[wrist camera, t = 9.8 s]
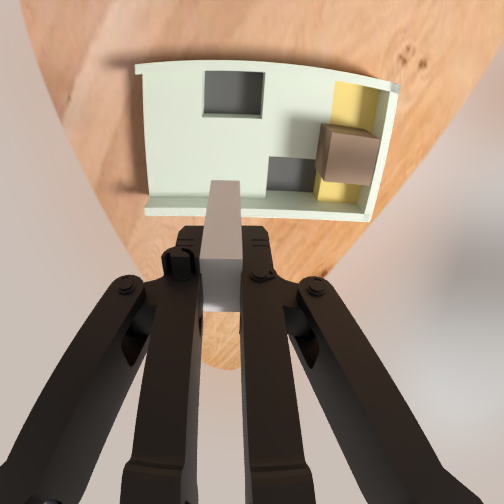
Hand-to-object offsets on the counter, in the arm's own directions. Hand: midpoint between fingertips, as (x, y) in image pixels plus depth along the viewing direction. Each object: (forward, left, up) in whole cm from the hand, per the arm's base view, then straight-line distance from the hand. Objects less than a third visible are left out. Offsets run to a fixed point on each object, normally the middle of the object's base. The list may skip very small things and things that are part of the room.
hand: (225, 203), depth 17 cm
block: (+1, +12, -16) cm, 20 cm away
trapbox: (+1, +4, -19) cm, 19 cm away
